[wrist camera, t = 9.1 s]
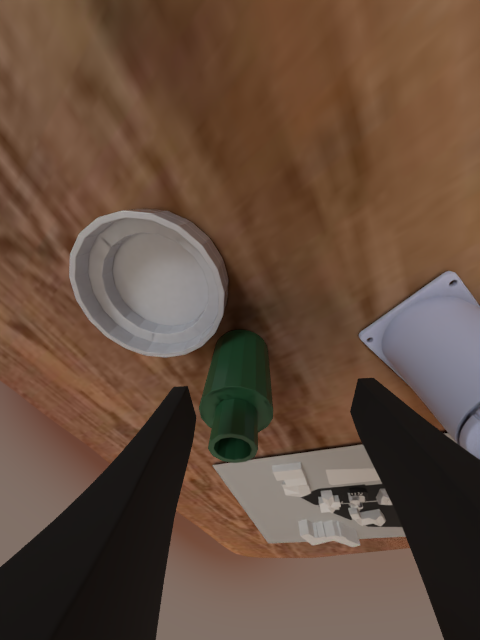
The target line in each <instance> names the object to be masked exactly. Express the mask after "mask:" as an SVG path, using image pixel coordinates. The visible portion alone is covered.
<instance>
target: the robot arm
mask: <svg viewBox="0 0 480 640" xmlns="http://www.w3.org/2000/svg"><path fill="white" fill-rule="evenodd" d="M451 281H453V282H452V283H451V284H450V282H451ZM449 284H450V285H449ZM359 338H360V339H361V341H362V342H364V343H365V344H366V345H367V346H368V347H369V348H370V349H371V350H372V351H373V352H374V353H375V354H376V355H377V356H378V357H379V358H380V359H381V360H383V361H384V362H385V363H386V364H387V365H388V366H389V367H390V368H391V369H392V370H393V371H394V372H395V373H396V374H397V375H398V376H399V377H400V378H402V379H403V380H404V381H405V382H406V383H407V384H408V385H409V386H410V387H411V388H412V389H413V391H414V392H415V393H416V394H417V395H418V397H419V398H420V399H421V400H422V401H423V403H424V404H425V405H426V406H427V408H428V409H429V410H430V411H431V412H432V414H433V415H434V416H435V417H436V418H437V420H438V421H439V422H440V423H441V425H442V426H443V427H444V428H445V429H446V431H447V432H448V433H449V434H450V435H451V437H452V438H453V439H454V440H455V442H454V441H453V440H452V439H450V438H449V437H447V436H446V435H445V434H443V433H442V432H441V431H439V430H438V429H437V428H435V427H434V426H433V425H432V424H430V423H429V422H428V421H426V420H425V419H424V418H423V417H421V416H420V415H419V414H417V413H416V412H415V411H414V410H412V409H411V408H410V407H409V406H407V405H406V404H405V403H404V402H403V401H401V400H400V399H399V398H398V397H396V396H395V395H394V394H393V393H392V392H390V391H389V390H388V389H387V388H385V387H384V386H383V385H382V384H380V383H379V382H378V381H377V380H375V379H374V378H361V379H358V382H357V386H356V390H355V394H354V398H353V402H352V407H351V411H350V412H351V415H352V418H353V421H354V424H355V427H356V429H357V432H358V435H359V437H360V439H361V441H362V444H363V446H364V448H365V450H366V452H367V454H368V456H369V458H370V460H371V462H372V464H373V466H374V468H375V470H376V472H377V474H378V476H379V478H380V480H381V482H382V484H383V486H384V488H385V490H386V492H387V494H388V496H389V498H390V500H391V503H392V505H393V507H394V509H395V511H396V514H397V516H398V518H399V521H400V523H401V526H402V528H403V531H404V533H405V536H406V538H407V541H408V543H409V546H410V548H411V551H412V553H413V556H414V559H415V561H416V564H417V566H418V569H419V572H420V574H421V577H422V580H423V582H424V585H425V587H426V590H427V593H428V595H429V599H430V601H431V604H432V607H433V610H434V612H435V615H436V618H437V621H438V624H439V626H440V629H441V632H442V635H443V637H444V640H480V305H479V304H478V302H477V301H476V300H475V298H474V297H473V296H472V294H471V293H470V292H469V290H468V289H467V287H466V286H465V285H464V283H463V282H462V281H461V279H460V278H459V277H458V275H457V274H456V273H454V272H452V271H447V272H445V273H443V274H441V275H440V276H439V277H437V278H436V279H434V280H433V281H432V282H430V283H429V284H427V285H426V286H425V287H423V288H422V289H420V290H419V291H417V292H416V293H415V294H413V295H412V296H410V297H409V298H408V299H406V300H405V301H403V302H402V303H401V304H399V305H398V306H396V307H395V308H394V309H392V310H391V311H389V312H388V313H386V314H385V315H384V316H382V317H381V318H379V319H378V320H377V321H375V322H374V323H372V324H371V325H370V326H368V327H367V328H365V329H364V330H362V331H361V332H360V333H359ZM368 338H370V339H369V340H367V339H368ZM195 423H196V415H195V411H194V407H193V404H192V400H191V397H190V393H189V389H188V386H184V387H173V389H172V390H171V391H170V392H169V394H168V395H167V396H166V398H165V399H164V400H163V402H162V403H161V404H160V406H159V407H158V408H157V409H156V411H155V412H154V413H153V415H152V416H151V417H150V418H149V420H148V421H147V422H146V423H145V425H144V426H143V427H142V428H141V430H140V431H139V432H138V433H137V435H136V436H135V437H134V438H133V439H132V440H131V442H130V443H129V444H128V445H127V446H126V447H125V449H124V450H123V451H122V452H121V453H120V454H119V455H118V457H117V458H116V459H115V460H114V461H113V462H112V463H111V464H110V465H109V466H108V468H107V469H106V470H105V471H104V472H103V473H102V474H101V475H100V476H99V477H98V478H97V479H96V480H95V481H94V482H93V483H92V484H91V485H90V486H89V487H88V488H87V489H86V490H85V491H84V492H83V493H82V494H81V495H80V496H79V497H78V498H77V499H76V500H75V501H74V502H73V503H72V504H71V505H70V506H69V507H68V508H67V509H66V510H65V511H63V512H62V513H61V514H60V515H59V516H58V517H57V518H56V519H55V520H54V521H53V522H52V523H50V524H49V525H48V526H47V527H46V528H45V529H44V530H43V531H41V532H40V533H39V534H38V535H37V536H36V537H35V538H33V539H32V540H31V541H30V542H29V543H28V544H27V545H25V546H24V547H23V548H22V549H21V550H20V551H19V552H17V553H16V554H15V555H14V556H13V557H12V558H11V559H9V560H8V561H7V562H6V563H5V564H3V565H2V566H1V567H0V640H156V633H157V625H158V619H159V611H160V604H161V597H162V590H163V584H164V577H165V570H166V564H167V558H168V552H169V546H170V540H171V534H172V528H173V522H174V516H175V512H176V507H177V503H178V499H179V495H180V491H181V487H182V483H183V479H184V475H185V471H186V467H187V463H188V459H189V455H190V451H191V447H192V443H193V437H194V431H195Z"/></svg>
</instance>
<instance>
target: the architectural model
mask: <svg viewBox="0 0 480 640" xmlns="http://www.w3.org/2000/svg"><path fill="white" fill-rule="evenodd" d="M444 434H445V435H446V436H447V437H449V438H450V439H452V440H453V441H454V442H455V440H454V439H453V438H452V437H451V435H450V434H449V433H444ZM212 466H213V467H214V468H215V470H216V471H217V473H218V474H219V475H220V477H221V478H222V479H223V481H224V482H225V484H226V485H227V486H228V488H229V489H230V491H231V492H232V493H233V495H234V496H235V498H236V499H237V500H238V502H239V503H240V504H241V506H242V507H243V509H244V510H245V511H246V513H247V514H248V516H249V517H250V518H251V520H252V521H253V522H254V524H255V525H256V527H257V528H258V529H259V531H260V532H261V534H262V535H263V536H264V538H265V539H266V541H267V542H268V543H287V542H309V543H310V544H311V545H317V544H321V543H325V542H329V541H336V542H339V543H342V544H345V545H348V546H351V547H356V546H359V545H360V542H359V539H366V538H386V537H405V533H404V531H403V528H402V526H401V523H400V521H399V518H398V516H397V514H396V511H395V509H394V507H393V505H392V503H391V500H390V498H389V496H388V494H387V492H386V490H385V488H384V486H383V484H382V482H381V480H380V478H379V476H378V474H377V472H376V470H375V468H374V466H373V464H372V462H371V460H370V458H369V456H368V454H367V452H366V450H365V448H364V446H363V445H356V446H349V447H342V448H334V449H327V450H320V451H312V452H305V453H298V454H290V455H283V456H276V457H268V458H261V459H254V460H248V461H246V462H240V463H224V464H217V465H212Z"/></svg>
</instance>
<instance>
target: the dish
mask: <svg viewBox="0 0 480 640" xmlns="http://www.w3.org/2000/svg"><path fill="white" fill-rule="evenodd" d="M69 277H70V281H71V284H72V288H73V291H74V294H75V298H76V300H77V302H78V303H79V305H80V307H81V308H82V310H83V311H84V313H85V314H86V316H87V318H88V319H89V320H90V321H91V322H92V323H93V324H94V325H95V326H96V327H97V328H98V329H99V330H100V331H101V332H102V333H103V334H104V335H105V336H106V337H108V338H109V339H111V340H113V341H114V342H116V343H117V344H119V345H121V346H122V347H124V348H126V349H129V350H132V351H134V352H137V353H140V354H143V355H146V356H156V357H165V358H167V357H173V356H180V355H185V354H188V353H190V352H192V351H194V350H196V349H198V348H200V347H202V346H203V345H204V344H205V343H206V342H207V341H208V340H209V339H210V338H211V337H212V336H213V335H214V334H215V333H216V331H217V328H218V326H219V324H220V321H221V319H222V317H223V314H224V310H225V307H226V303H227V299H228V283H229V280H228V276H227V272H226V268H225V265H224V261H223V258H222V256H221V255H220V253H219V252H218V250H217V249H216V247H215V245H214V244H213V242H212V241H211V239H210V238H209V237H208V236H207V235H206V234H205V233H204V232H202V231H201V230H200V229H199V228H198V227H197V226H196V225H194V224H193V223H192V222H191V221H189V220H187V219H184V218H182V217H180V216H178V215H176V214H173V213H171V212H169V211H164V210H154V209H134V210H123V211H119V212H115V213H112V214H108V215H105V216H101V217H98V218H97V219H95V220H94V221H93V222H92V223H91V224H89V225H88V226H87V227H86V228H85V229H84V230H82V231H81V232H80V233H79V235H78V237H77V240H76V242H75V244H74V246H73V248H72V251H71V253H70V270H69Z"/></svg>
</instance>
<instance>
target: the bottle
mask: <svg viewBox="0 0 480 640" xmlns="http://www.w3.org/2000/svg"><path fill="white" fill-rule="evenodd" d="M199 410H200V415H201V418H202V419H203V420H204V422H205V423H206V424H207V425H208V426H209V427H211V428H212V430H211V435H210V441H209V446H208V449H209V451H210V452H211V454H212V455H213V456H214V457H216V458H218V459H220V460H222V461H225V462H231V463H240V462H246V461H248V460H250V459H252V458H254V457H255V455H256V453H257V450H258V432H260V431H261V430H263V429H265V428H266V427H267V426H268V425H269V423H270V422H271V420H272V419H273V404H272V392H271V380H270V369H269V357H268V349H267V345H266V343H265V342H264V340H263V339H262V338H261V337H260V336H259V335H257V334H255V333H253V332H251V331H247V330H234V331H230V332H228V333H226V334H224V335H223V336H222V337H221V338H220V339H219V340H218V342H217V344H216V347H215V350H214V353H213V357H212V361H211V365H210V368H209V372H208V376H207V380H206V383H205V387H204V391H203V395H202V398H201V402H200V406H199Z"/></svg>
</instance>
